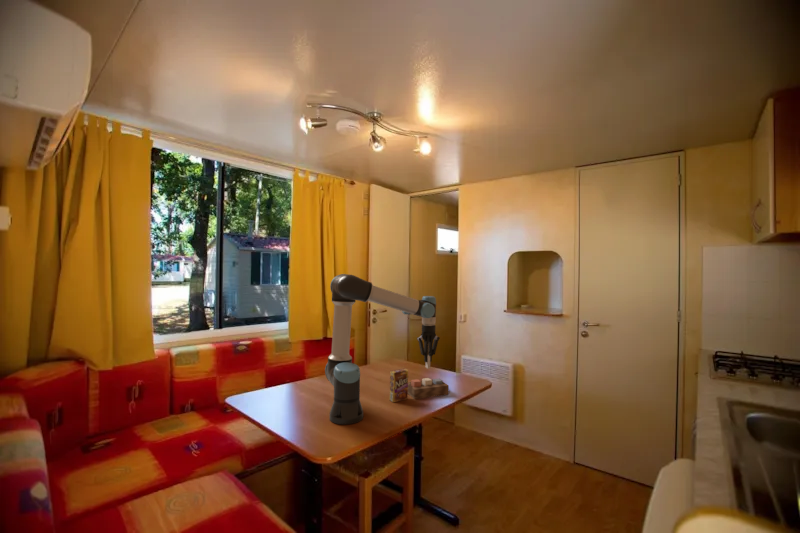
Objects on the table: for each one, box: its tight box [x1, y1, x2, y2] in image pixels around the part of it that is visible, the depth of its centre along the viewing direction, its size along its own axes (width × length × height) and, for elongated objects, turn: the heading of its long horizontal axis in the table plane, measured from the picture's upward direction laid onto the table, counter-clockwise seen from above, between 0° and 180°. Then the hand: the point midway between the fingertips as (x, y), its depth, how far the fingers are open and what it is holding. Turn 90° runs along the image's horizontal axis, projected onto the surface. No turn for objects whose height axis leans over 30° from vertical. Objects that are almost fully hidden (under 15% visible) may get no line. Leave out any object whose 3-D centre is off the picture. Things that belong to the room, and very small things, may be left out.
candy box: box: [388, 368, 409, 403], centre depth 182 cm, size 9×4×15 cm, turn 123°
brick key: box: [410, 378, 422, 387], centre depth 190 cm, size 4×4×4 cm
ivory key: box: [421, 377, 432, 386], centre depth 192 cm, size 4×4×4 cm
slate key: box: [433, 378, 444, 384], centre depth 195 cm, size 4×4×4 cm
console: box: [408, 378, 449, 400], centre depth 192 cm, size 20×12×5 cm, turn 111°
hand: (427, 367), depth 192 cm, fingers closed
